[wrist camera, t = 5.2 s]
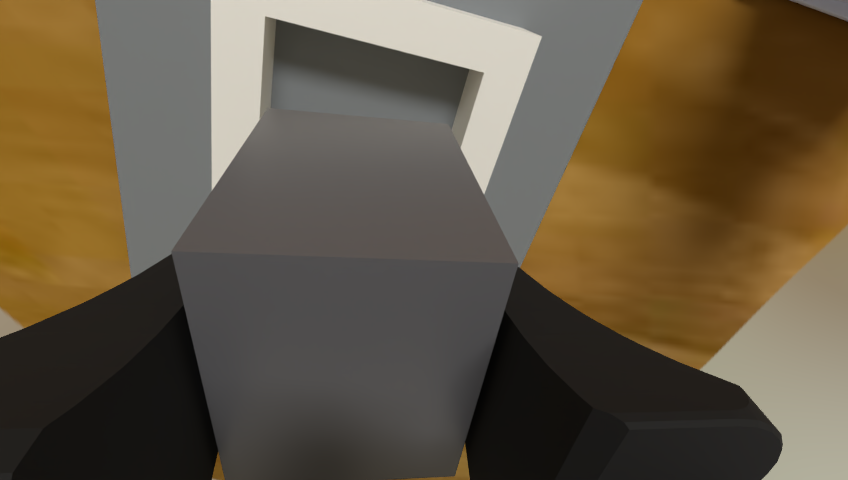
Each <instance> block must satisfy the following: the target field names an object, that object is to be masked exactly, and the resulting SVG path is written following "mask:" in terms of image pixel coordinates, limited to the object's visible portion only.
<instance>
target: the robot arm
mask: <svg viewBox="0 0 848 480" xmlns="http://www.w3.org/2000/svg"><path fill="white" fill-rule="evenodd" d="M790 1H793V2H796V3H798V4H801V5H804V6H806V7H809V8H812V9H815V10H817V11H820V12H823V13H826V14H828V15H831V16H834V17H837V18H839V19H842V20H845V21H848V0H790ZM465 444H466V452H467V460H468V467H469V475H470V480H761V479H762V478H764V477H765V475H767V474H768V472H769V471H770V470H771V469H772V467H773V466H774V465H775V464H776V463H777V461H778V459H779V456H780V454H781V451H782V445H783V443H782V436H781V433H780V432H779V431H778V430H777V429H776V427H775V426H774V425H773V424H772V423H771V422H770V420H769V419H768V418H767V417H766V416H765V415H764V413H763V412H762V411H761V410H760V409H759V408H758V406H757V405H756V404H755V403H754V402H753V401H752V399H750V397H749V396H748V395H747V394H746V393H745V391H744V390H743V389H742V388H741V387H740V386H738V385H736V384H733V383H731V382H728V381H725V380H723V379H720V378H718V377H715V376H713V375H710V374H708V373H705V372H703V371H700V370H697V369H695V368H692V367H690V366H687V365H685V364H682V363H680V362H677V361H675V360H673V359H670V358H668V357H666V356H664V355H662V354H660V353H657V352H655V351H653V350H651V349H649V348H646V347H644V346H642V345H640V344H638V343H636V342H634V341H632V340H630V339H628V338H626V337H624V336H622V335H620V334H618V333H616V332H615V331H613V330H611V329H609V328H607V327H606V326H604V325H602V324H600V323H598V322H597V321H595V320H593V319H591V318H590V317H588V316H586V315H585V314H583V313H581V312H580V311H578V310H577V309H575V308H574V307H572V306H571V305H569V304H567V303H566V302H564V301H563V300H561V299H560V298H558V297H557V296H555V295H554V294H553V293H551V292H550V291H548V290H547V289H546V288H544V287H543V286H542V285H540V284H539V283H538V282H537V281H535V280H534V279H533V278H532V277H530V276H529V275H528V274H526V273H525V272H524V271H523V270H522V269H520V268H519V267H517V271H516V274H515V277H514V281H513V284H512V287H511V291H510V294H509V297H508V301H507V304H506V307H505V311H504V314H503V317H502V321H501V324H500V327H499V331H498V334H497V337H496V340H495V344H494V347H493V350H492V354H491V357H490V360H489V364H488V367H487V370H486V374H485V377H484V380H483V384H482V387H481V390H480V394H479V397H478V400H477V404H476V407H475V410H474V414H473V417H472V420H471V424H470V427H469V430H468V434H467V437H466V440H465ZM217 453H218V447H217V443H216V439H215V435H214V430H213V426H212V422H211V418H210V413H209V409H208V405H207V401H206V397H205V392H204V388H203V384H202V380H201V375H200V371H199V367H198V363H197V358H196V354H195V350H194V346H193V341H192V337H191V333H190V329H189V325H188V320H187V316H186V312H185V308H184V303H183V299H182V295H181V291H180V286H179V282H178V278H177V274H176V269H175V265H174V261H173V257H172V254H170V255H169V256H167V257H166V258H164V259H162V260H161V261H159V262H158V263H156V264H154V265H153V266H151V267H150V268H148V269H146V270H145V271H143V272H142V273H140V274H138V275H136V276H135V277H133V278H131V279H129V280H127V281H126V282H124V283H122V284H120V285H118V286H116V287H114V288H112V289H110V290H108V291H106V292H104V293H102V294H100V295H98V296H96V297H95V298H93V299H90V300H88V301H86V302H84V303H82V304H80V305H78V306H75V307H73V308H71V309H68V310H66V311H64V312H61V313H59V314H57V315H54V316H52V317H50V318H47V319H45V320H43V321H41V322H38V323H36V324H34V325H31V326H29V327H27V328H24V329H22V330H19V331H17V332H14V333H11V334H9V335H6V336H3V337H1V338H0V480H212V475H213V471H214V467H215V462H216V458H217Z"/></svg>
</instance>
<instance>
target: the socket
mask: <svg viewBox="0 0 848 480" xmlns="http://www.w3.org/2000/svg"><path fill="white" fill-rule="evenodd" d="M642 1H643V0H95V2H96V10H97V18H98V25H99V33H100V41H101V48H102V56H103V64H104V71H105V79H106V87H107V94H108V102H109V110H110V117H111V125H112V133H113V140H114V148H115V156H116V163H117V171H118V179H119V186H120V194H121V202H122V209H123V217H124V225H125V232H126V240H127V248H128V255H129V263H130V271H131V278H133V277H135V276H136V275H138V274H140V273H142V272H143V271H145V270H146V269H148V268H150V267H151V266H153V265H154V264H156V263H158V262H159V261H161V260H162V259H164V258H166V257H167V256H169V255H170V254H172V253H171V251H172V249H173V248H174V246H175V245H176V243H177V242H178V240H179V239H180V237H181V236H182V234H183V233H184V232H185V230H186V229H187V227H188V226H189V224H190V223H191V221H192V220H193V218H194V217H195V215H196V214H197V212H198V211H199V209H200V208H201V206H202V205H203V203H204V202H205V200H206V199H207V197H208V196H209V194H210V193H211V191H212V190H213V188H214V187H215V185H216V184H217V182H218V181H219V179H220V178H221V177H222V175H223V174H224V172H225V171H226V169H227V168H228V166H229V165H230V163H231V162H232V160H233V159H234V157H235V156H236V154H237V153H238V151H239V150H240V148H241V147H242V145H243V144H244V142H245V141H246V139H247V138H248V136H249V135H250V133H251V132H252V130H253V129H254V127H255V126H256V124H257V123H258V121H259V120H260V119H261V117H262V116H263V114H264V113H265V111H266V110H267V108H274V109H285V110H296V111H308V112H319V113H330V114H341V115H353V116H364V117H375V118H386V119H398V120H409V121H420V122H431V123H443V124H449V126H450V128H451V130H452V132H453V134H454V136H455V138H456V140H457V142H458V144H459V146H460V148H461V150H462V152H463V154H464V156H465V158H466V160H467V162H468V164H469V166H470V168H471V170H472V172H473V174H474V176H475V178H476V180H477V182H478V184H479V186H480V188H481V190H482V192H483V194H484V196H485V198H486V200H487V202H488V204H489V206H490V208H491V210H492V212H493V214H494V216H495V218H496V220H497V222H498V224H499V226H500V228H501V230H502V231H503V233H504V235H505V237H506V239H507V241H508V243H509V245H510V247H511V249H512V251H513V253H514V255H515V257H516V259H517V261H518V263H519V264H518V267H519V268H520V266H521V264H522V262H523V260H524V258H525V255H526V253H527V251H528V249H529V247H530V245H531V242H532V240H533V238H534V236H535V234H536V232H537V229H538V227H539V225H540V223H541V221H542V219H543V216H544V214H545V212H546V210H547V208H548V206H549V203H550V201H551V199H552V197H553V195H554V192H555V190H556V188H557V186H558V184H559V182H560V179H561V177H562V175H563V173H564V171H565V169H566V166H567V164H568V162H569V160H570V158H571V156H572V153H573V151H574V149H575V147H576V145H577V143H578V140H579V138H580V136H581V134H582V132H583V130H584V127H585V125H586V123H587V121H588V119H589V117H590V114H591V112H592V110H593V108H594V106H595V103H596V101H597V99H598V97H599V95H600V93H601V90H602V88H603V86H604V84H605V82H606V80H607V77H608V75H609V73H610V71H611V69H612V67H613V64H614V62H615V60H616V58H617V56H618V54H619V51H620V49H621V47H622V45H623V43H624V41H625V38H626V36H627V34H628V32H629V30H630V28H631V25H632V23H633V21H634V19H635V17H636V15H637V12H638V10H639V8H640V6H641V4H642Z"/></svg>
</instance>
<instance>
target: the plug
mask: <svg viewBox="0 0 848 480" xmlns="http://www.w3.org/2000/svg"><path fill="white" fill-rule="evenodd" d="M171 253H172V257H173V261H174V265H175V269H176V274H177V278H178V282H179V286H180V291H181V295H182V299H183V303H184V308H185V312H186V316H187V320H188V325H189V329H190V333H191V337H192V341H193V346H194V350H195V354H196V358H197V363H198V367H199V371H200V375H201V380H202V384H203V388H204V392H205V397H206V401H207V405H208V409H209V413H210V418H211V422H212V426H213V430H214V435H215V439H216V443H217V447H218V452H219V456H220V460H221V464H222V469H223V473H224V477H225V480H387V479H408V478H428V477H449V476H455V474H456V470H457V467H458V464H459V460H460V457H461V454H462V450H463V447H464V444H465V440H466V437H467V434H468V430H469V427H470V424H471V420H472V417H473V414H474V410H475V407H476V404H477V400H478V397H479V394H480V390H481V387H482V384H483V380H484V377H485V374H486V370H487V367H488V364H489V360H490V357H491V354H492V350H493V347H494V344H495V340H496V337H497V334H498V331H499V327H500V324H501V321H502V317H503V314H504V311H505V307H506V304H507V301H508V297H509V294H510V291H511V287H512V284H513V281H514V277H515V274H516V271H517V267H518V264H519V263H518V261H517V259H516V257H515V255H514V253H513V251H512V249H511V247H510V245H509V243H508V241H507V239H506V237H505V235H504V233H503V231H502V230H501V228H500V226H499V224H498V222H497V220H496V218H495V216H494V214H493V212H492V210H491V208H490V206H489V204H488V202H487V200H486V198H485V196H484V194H483V192H482V190H481V188H480V186H479V184H478V182H477V180H476V178H475V176H474V174H473V172H472V170H471V168H470V166H469V164H468V162H467V160H466V158H465V156H464V154H463V152H462V150H461V148H460V146H459V144H458V142H457V140H456V138H455V136H454V134H453V132H452V130H451V128H450V126H449V124H443V123H431V122H420V121H409V120H398V119H386V118H375V117H364V116H353V115H341V114H330V113H319V112H308V111H296V110H285V109H274V108H267V110H266V111H265V113H264V114H263V116H262V117H261V119H260V120H259V121H258V123H257V124H256V126H255V127H254V129H253V130H252V132H251V133H250V135H249V136H248V138H247V139H246V141H245V142H244V144H243V145H242V147H241V148H240V150H239V151H238V153H237V154H236V156H235V157H234V159H233V160H232V162H231V163H230V165H229V166H228V168H227V169H226V171H225V172H224V174H223V175H222V177H221V178H220V179H219V181H218V182H217V184H216V185H215V187H214V188H213V190H212V191H211V193H210V194H209V196H208V197H207V199H206V200H205V202H204V203H203V205H202V206H201V208H200V209H199V211H198V212H197V214H196V215H195V217H194V218H193V220H192V221H191V223H190V224H189V226H188V227H187V229H186V230H185V232H184V233H183V234H182V236H181V237H180V239H179V240H178V242H177V243H176V245H175V246H174V248H173V249H172V251H171Z"/></svg>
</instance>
